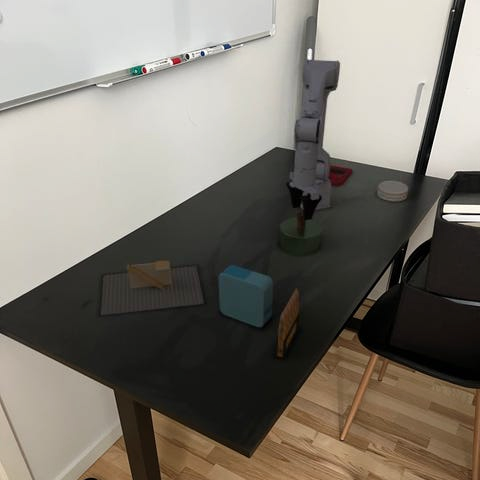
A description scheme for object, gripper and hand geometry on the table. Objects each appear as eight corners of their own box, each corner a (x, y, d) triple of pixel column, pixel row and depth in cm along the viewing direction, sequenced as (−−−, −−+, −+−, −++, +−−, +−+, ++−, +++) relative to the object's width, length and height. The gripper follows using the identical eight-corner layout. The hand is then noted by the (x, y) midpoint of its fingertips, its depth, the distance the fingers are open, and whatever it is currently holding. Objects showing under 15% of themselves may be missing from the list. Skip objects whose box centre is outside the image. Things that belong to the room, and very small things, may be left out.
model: (172, 290, 129) (169, 265, 124) (130, 294, 128) (126, 269, 123) (172, 283, 131) (169, 258, 127) (130, 287, 130) (126, 262, 125)
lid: (310, 217, 149) (312, 201, 146) (329, 236, 140) (331, 220, 137) (273, 224, 146) (273, 208, 143) (289, 244, 137) (290, 227, 134)
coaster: (377, 188, 175) (379, 178, 173) (407, 191, 173) (409, 181, 171) (375, 200, 168) (377, 190, 166) (406, 203, 166) (408, 194, 164)
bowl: (308, 232, 151) (310, 216, 148) (325, 251, 143) (327, 234, 140) (274, 239, 149) (275, 223, 145) (289, 258, 140) (290, 241, 137)
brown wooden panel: (290, 327, 117) (293, 285, 109) (298, 329, 116) (302, 287, 109) (275, 356, 109) (277, 313, 102) (283, 358, 109) (286, 315, 101)
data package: (272, 319, 119) (273, 277, 112) (263, 329, 116) (264, 287, 109) (229, 303, 124) (228, 262, 117) (219, 313, 121) (217, 272, 114)
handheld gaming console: (314, 178, 179) (328, 164, 189) (314, 182, 180) (327, 167, 190) (340, 183, 176) (352, 168, 186) (340, 187, 176) (352, 171, 187)
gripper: (280, 157, 135) (278, 204, 144) (303, 178, 125) (299, 227, 133) (304, 154, 137) (301, 200, 146) (328, 174, 126) (323, 222, 135)
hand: (301, 213), depth 139 cm, fingers open, 7 cm apart
